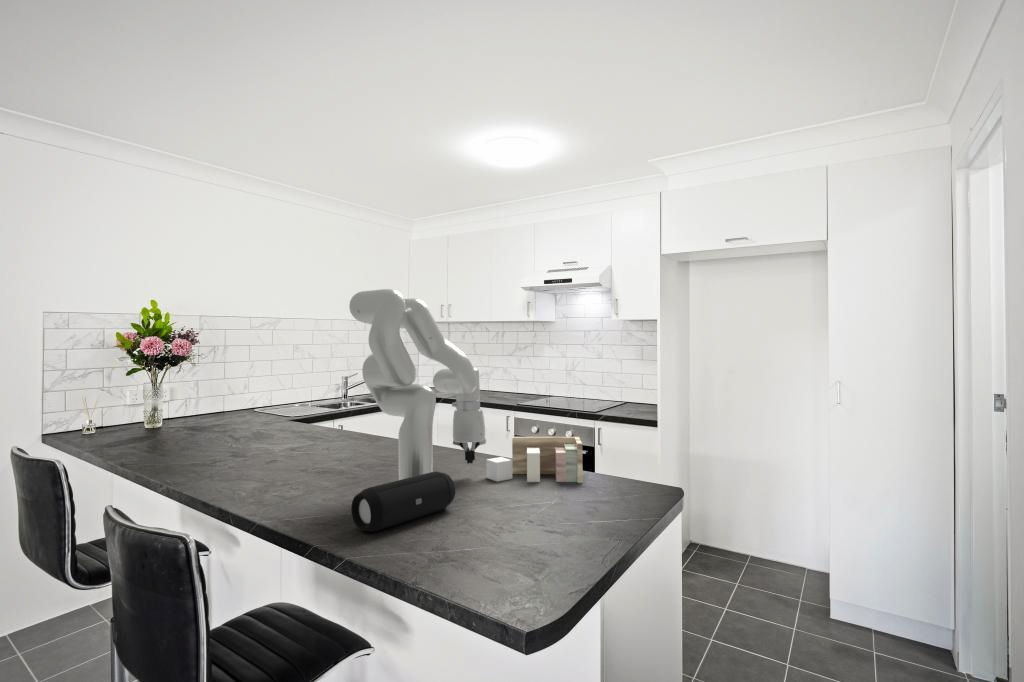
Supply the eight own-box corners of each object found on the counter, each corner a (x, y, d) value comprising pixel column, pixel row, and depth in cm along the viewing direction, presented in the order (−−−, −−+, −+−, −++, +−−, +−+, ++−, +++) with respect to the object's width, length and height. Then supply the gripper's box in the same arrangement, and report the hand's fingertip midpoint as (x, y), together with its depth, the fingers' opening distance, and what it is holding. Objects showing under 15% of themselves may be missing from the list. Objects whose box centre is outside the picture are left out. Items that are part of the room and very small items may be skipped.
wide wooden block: (582, 482, 163) (582, 443, 163) (511, 482, 164) (510, 443, 164) (579, 473, 175) (578, 436, 175) (512, 472, 176) (512, 436, 176)
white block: (540, 482, 165) (539, 453, 165) (527, 482, 165) (526, 453, 165) (539, 474, 174) (539, 447, 174) (527, 474, 174) (527, 447, 174)
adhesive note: (496, 482, 165) (496, 462, 165) (486, 478, 170) (486, 459, 170) (512, 478, 169) (512, 459, 169) (501, 475, 174) (501, 456, 174)
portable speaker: (374, 539, 118) (373, 494, 118) (349, 529, 124) (348, 486, 124) (457, 511, 137) (457, 472, 137) (432, 504, 143) (432, 467, 143)
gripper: (443, 408, 167) (445, 466, 167) (490, 407, 166) (492, 465, 167) (447, 404, 174) (449, 460, 175) (492, 403, 174) (494, 459, 174)
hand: (470, 462), depth 171 cm, fingers closed
